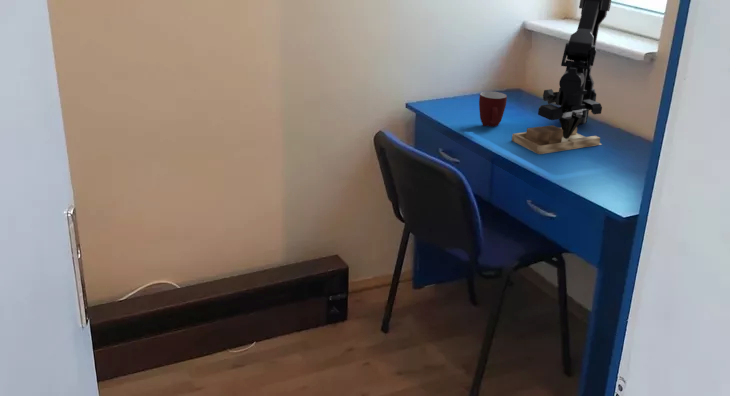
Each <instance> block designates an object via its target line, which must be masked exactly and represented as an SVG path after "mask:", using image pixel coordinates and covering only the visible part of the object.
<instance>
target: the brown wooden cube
mask: <svg viewBox="0 0 730 396" xmlns="http://www.w3.org/2000/svg"><path fill="white" fill-rule="evenodd" d="M542 127H543V126H535V127H528V128H526V132H527V133H526V139H528V140H530V141H532V142H534V143H536V144H538V145H540V146H541V145H548V143H549V136H550V131H548V130H546V129H544V128H542Z"/></svg>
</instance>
